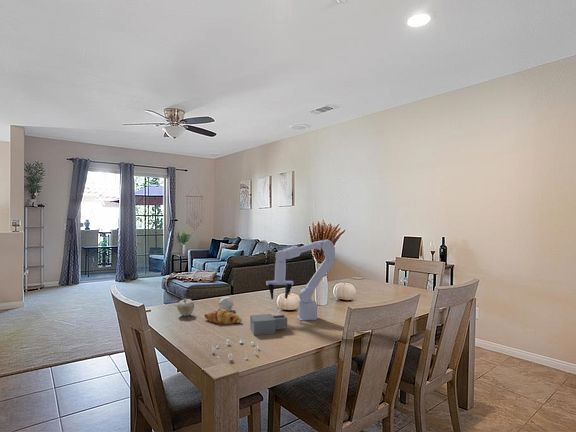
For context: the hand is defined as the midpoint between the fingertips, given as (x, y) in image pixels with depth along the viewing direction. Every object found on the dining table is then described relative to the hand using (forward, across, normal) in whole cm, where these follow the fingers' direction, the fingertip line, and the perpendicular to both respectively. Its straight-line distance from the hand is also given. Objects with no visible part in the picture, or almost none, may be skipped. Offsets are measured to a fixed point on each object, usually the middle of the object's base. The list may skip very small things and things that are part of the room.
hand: (279, 298), depth 185 cm
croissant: (+12, -29, +1) cm, 32 cm away
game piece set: (+12, -27, -40) cm, 49 cm away
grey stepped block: (+11, -9, -18) cm, 23 cm away
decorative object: (+13, -48, +17) cm, 52 cm away
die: (+12, -26, +21) cm, 35 cm away
